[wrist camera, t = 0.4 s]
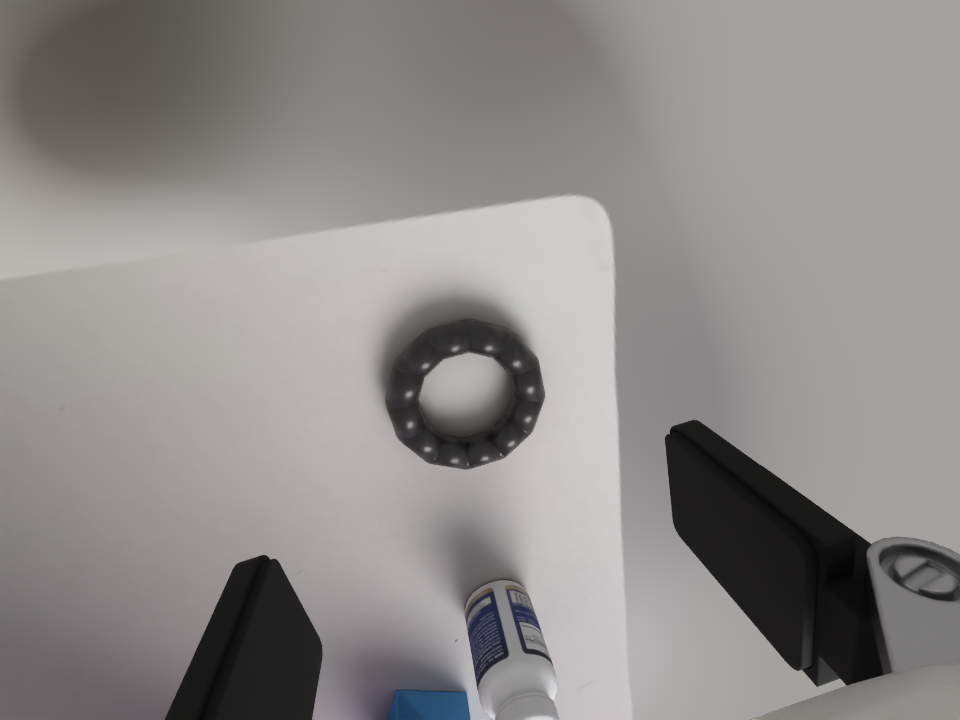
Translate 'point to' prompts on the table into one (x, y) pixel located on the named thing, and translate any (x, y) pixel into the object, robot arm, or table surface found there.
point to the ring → (449, 344)
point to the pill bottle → (510, 654)
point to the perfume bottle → (429, 706)
